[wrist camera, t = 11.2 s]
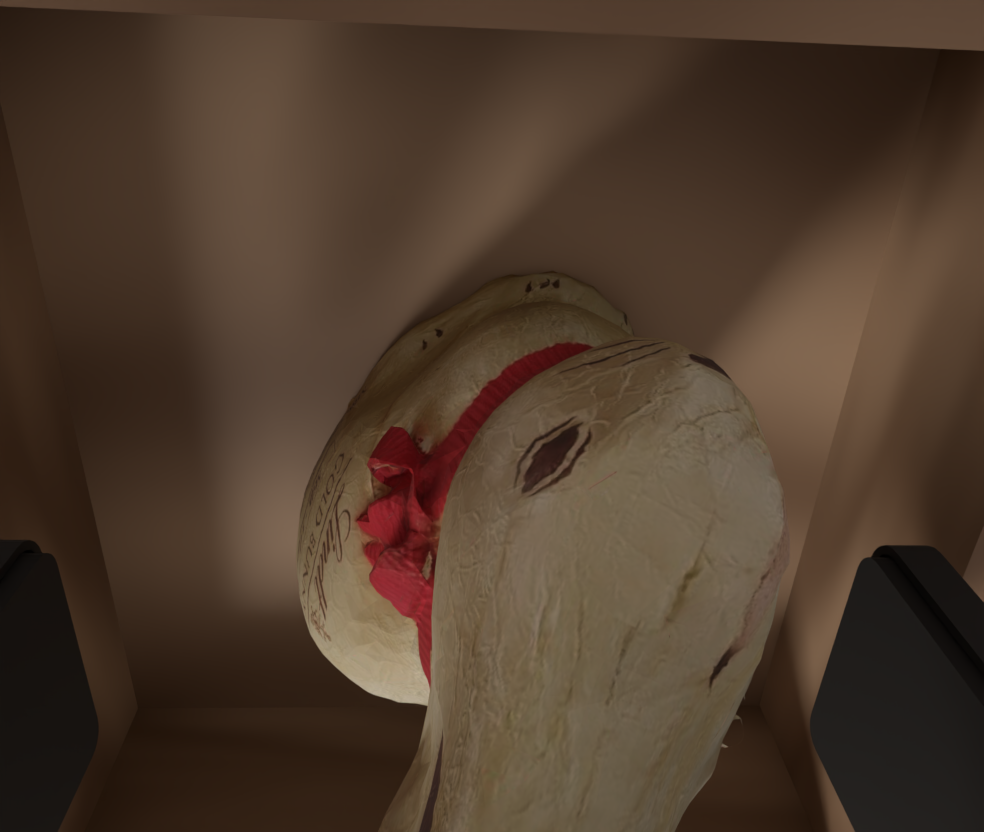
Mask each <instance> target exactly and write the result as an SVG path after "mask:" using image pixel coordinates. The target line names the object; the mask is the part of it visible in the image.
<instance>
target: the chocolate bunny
mask: <svg viewBox="0 0 984 832" xmlns="http://www.w3.org/2000/svg"><path fill="white" fill-rule="evenodd" d="M296 563H297V578H298V586H299V594H300V601H301V604H302V608H303V612H304V616H305V620H306V623H307V626H308V629H309V632H310V635H311V636H312V638H313V640H314V641H315V643H316V645H317V646H318V648H319V649H320V651H321V652H322V654H323V655H324V656H325V657H326V658H327V659H328V660H329V661H330V662H331V663H332V664H333V665H334V666H335V667H336V668H337V669H339V670H340V671H341V672H342V673H343V674H344V675H345V676H347V677H348V678H349V679H350V680H352V681H353V682H354V683H356V684H357V685H359V686H360V687H361V688H363V689H364V690H366V691H367V692H369V693H371V694H373V695H377V696H380V697H384V698H387V699H391V700H394V701H396V702H401V703H416V704H421V705H426V706H428V707H427V712H426V717H425V721H424V726H423V730H422V735H421V740H420V744H419V749H418V751H417V754H416V756H415V758H414V760H413V763H412V765H411V767H410V769H409V771H408V773H407V775H406V776H405V778H404V780H403V782H402V784H401V786H400V788H399V789H398V791H397V793H396V795H395V797H394V799H393V801H392V802H391V804H390V806H389V808H388V810H387V812H386V814H385V816H384V818H383V821H382V823H381V826H380V828H379V831H378V832H675V830H676V828H677V826H678V824H679V822H680V820H681V817H682V815H683V813H684V812H685V810H686V808H687V807H688V805H689V803H690V802H691V801H692V800H693V798H694V797H695V796H696V795H697V793H698V792H699V791H700V790H701V788H702V787H703V786H704V785H705V783H706V782H707V781H708V780H709V778H710V777H711V776H712V774H713V771H714V769H715V766H716V763H717V759H718V756H719V752H720V749H721V747H725V748H726V747H728V746H726V745H724V744H722V742H723V739H724V737H725V735H726V733H727V731H728V729H729V727H730V725H731V723H732V721H733V720H735V719H740V720H741V718H740V717H739V716H737V715H736V712H737V710H738V708H739V705H740V703H741V701H742V698H743V696H744V699H745V693H746V691H747V689H748V687H749V684H750V682H751V680H752V677H753V674H754V671H755V669H756V667H757V666H758V664H759V662H760V660H761V657H762V653H763V650H764V646H765V642H766V640H767V637H768V634H769V631H770V628H771V625H772V621H773V617H774V613H775V608H776V602H777V597H778V592H779V587H780V581H781V577H782V575H783V574H784V572H785V570H786V569H787V567H788V565H789V564H790V535H789V527H788V519H787V512H786V504H785V496H784V489H783V487H782V485H781V482H780V480H779V478H778V476H777V474H776V471H775V468H774V465H773V461H772V458H771V455H770V452H769V449H768V446H767V444H766V441H765V438H764V436H763V433H762V430H761V427H760V425H759V422H758V419H757V417H756V414H755V411H754V409H753V407H752V405H751V403H750V401H749V400H748V399H747V398H746V396H745V395H744V394H743V393H742V392H741V390H740V389H739V388H738V387H737V386H736V384H735V383H734V382H733V381H732V380H731V378H730V377H729V376H728V375H727V373H726V372H725V371H724V370H723V369H722V368H721V367H720V366H718V365H717V364H716V363H715V362H714V361H713V360H711V359H709V358H707V357H704V356H702V355H700V354H698V353H696V352H694V351H692V350H690V349H688V348H686V347H684V346H682V345H680V344H678V343H675V342H671V341H668V340H664V339H660V338H646V337H634V333H633V329H632V327H631V325H630V322H629V320H628V318H627V315H626V314H625V312H623V311H621V310H618V309H616V308H614V307H613V306H612V305H611V304H610V303H609V302H608V301H607V300H606V299H605V298H604V297H603V296H602V295H601V294H600V293H599V292H598V291H597V290H596V288H595V287H593V286H591V285H588V284H585V283H583V282H580V281H578V280H576V279H574V278H572V277H570V276H568V275H566V274H564V273H557V272H555V271H549V272H543V273H538V274H529V275H521V276H518V275H513V274H510V275H507V276H504V277H499V278H496V279H494V280H491V281H488V282H487V283H486V284H485V285H483V286H482V287H481V288H480V289H479V290H477V291H476V292H475V293H474V294H472V295H471V296H469V297H468V298H466V299H465V300H464V301H462V302H461V303H459V304H457V305H455V306H453V307H451V308H449V309H448V310H446V311H444V312H442V313H440V314H438V315H436V316H433V317H431V318H429V319H426V320H424V321H421V322H420V323H419V324H418V325H416V326H415V327H414V328H412V329H411V330H410V331H409V332H407V333H406V334H405V335H403V336H402V337H401V338H400V339H399V340H398V341H397V342H396V343H395V344H394V345H393V346H392V347H391V348H390V349H389V350H388V351H387V352H386V354H385V355H384V356H383V357H382V358H381V360H380V361H379V362H378V363H377V365H376V366H375V367H374V368H373V370H372V371H371V372H370V374H369V375H368V377H367V379H366V381H365V382H364V384H363V386H362V388H361V389H360V391H359V392H358V394H357V396H356V397H355V398H351V400H350V402H349V403H348V407H347V411H346V413H345V414H344V416H343V417H342V419H341V420H340V422H339V423H338V425H337V426H336V428H335V430H334V431H333V433H332V435H331V436H330V438H329V440H328V441H327V443H326V445H325V447H324V449H323V451H322V453H321V455H320V457H319V459H318V461H317V463H316V465H315V467H314V469H313V471H312V474H311V476H310V479H309V482H308V484H307V487H306V489H305V493H304V498H303V502H302V506H301V510H300V519H299V528H298V538H297V547H296ZM741 723H742V720H741ZM742 726H743V725H742ZM740 743H741V742H740Z"/></svg>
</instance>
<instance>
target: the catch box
mask: <svg viewBox="0 0 984 832" xmlns="http://www.w3.org/2000/svg"><path fill="white" fill-rule="evenodd" d="M549 271H555V272H557V273H564V274H566V275H568V276H570V277H572V278H574V279H576V280H578V281H580V282H583V283H585V284H588V285H591V286H593V287H595V288H596V290H597V291H598V292H599V293H600V294H601V295H602V296H603V297H604V298H605V299H606V300H607V301H608V302H609V303H610V304H611V305H612V306H613V307H614V308H616V309H618V310H621V311H623V312H625V314H626V315H627V318H628V320H629V322H630V325H631V327H632V329H633V333H634V337H646V338H660V339H664V340H668V341H671V342H675V343H678V344H680V345H682V346H684V347H686V348H688V349H690V350H692V351H694V352H696V353H698V354H700V355H702V356H704V357H707V358H709V359H711V360H713V361H714V362H715V363H716V364H717V365H718V366H720V367H721V368H722V369H723V370H724V371H725V372H726V373H727V375H728V376H729V377H730V378H731V380H732V381H733V382H734V383H735V384H736V386H737V387H738V388H739V389H740V390H741V392H742V393H743V394H744V395H745V396H746V398H747V399H748V400H749V401H750V403H751V405H752V407H753V409H754V411H755V414H756V417H757V419H758V422H759V425H760V427H761V430H762V433H763V436H764V438H765V441H766V444H767V446H768V449H769V452H770V455H771V458H772V461H773V465H774V468H775V471H776V474H777V476H778V478H779V480H780V482H781V485H782V487H783V489H784V496H785V504H786V512H787V519H788V527H789V535H790V564H789V565H788V567H787V569H786V570H785V572H784V574H783V575H782V577H781V581H780V587H779V592H778V597H777V602H776V608H775V613H774V617H773V621H772V625H771V628H770V631H769V634H768V637H767V640H766V642H765V646H764V650H763V653H762V657H761V660H760V662H759V664H758V666H757V667H756V669H755V671H754V674H753V677H752V680H751V682H750V684H749V687H748V689H747V691H746V693H745V699H744V696H743V698H742V701H741V703H740V705H739V708H738V710H737V712H736V715H737V716H739V717H740V718H741V720H742V723H741V720H740V719H735V720H733V721H732V723H731V725H730V727H729V729H728V731H727V733H726V735H725V737H724V739H723V742H722V744H724V745H726V746H728V747H726V748H725V747H721V749H720V752H719V756H718V759H717V763H716V766H715V769H714V771H713V774H712V776H711V777H710V778H709V780H708V781H707V782H706V783H705V785H704V786H703V787H702V788H701V790H700V791H699V792H698V793H697V795H696V796H695V797H694V798H693V800H692V801H691V802H690V803H689V805H688V807H687V808H686V810H685V812H684V813H683V815H682V817H681V820H680V822H679V824H678V826H677V828H676V830H675V832H855V831H854V829H853V827H852V825H851V823H850V821H849V818H848V816H847V814H846V812H845V810H844V808H843V806H842V804H841V802H840V800H839V798H838V796H837V793H836V791H835V789H834V787H833V785H832V783H831V781H830V779H829V777H828V775H827V773H826V771H825V769H824V766H823V764H822V762H821V760H820V758H819V756H818V754H817V752H816V750H815V747H814V745H813V742H812V738H811V733H810V717H811V713H812V709H813V706H814V703H815V700H816V697H817V694H818V691H819V688H820V684H821V681H822V678H823V675H824V672H825V669H826V666H827V662H828V659H829V656H830V653H831V650H832V647H833V644H834V640H835V637H836V634H837V631H838V628H839V625H840V622H841V619H842V615H843V612H844V609H845V606H846V603H847V600H848V597H849V593H850V590H851V587H852V584H853V581H854V578H855V575H856V571H857V568H858V566H859V564H860V562H861V561H862V560H863V559H864V558H867V557H871V556H872V554H873V552H874V551H875V550H876V549H877V548H878V547H879V546H883V545H928V546H931V547H934V548H936V549H937V550H938V551H939V552H940V553H941V554H942V555H943V556H944V557H945V558H946V559H947V561H948V562H949V563H950V564H951V565H952V566H953V567H954V569H955V570H956V571H957V572H958V573H959V574H960V576H961V577H962V578H963V579H964V580H965V581H966V582H967V584H968V585H969V586H970V587H971V588H972V589H973V590H974V592H975V593H976V594H977V595H978V596H979V597H980V599H981V600H982V601H983V602H984V0H0V540H31V541H35V542H36V543H37V544H38V546H39V547H40V549H41V551H42V553H49V554H52V555H53V556H54V557H55V559H56V562H57V564H58V568H59V572H60V576H61V580H62V584H63V587H64V591H65V595H66V599H67V603H68V607H69V610H70V614H71V618H72V622H73V626H74V630H75V633H76V637H77V641H78V645H79V649H80V652H81V656H82V660H83V664H84V668H85V672H86V675H87V679H88V683H89V687H90V691H91V695H92V698H93V702H94V706H95V710H96V714H97V718H98V724H99V733H98V741H97V745H96V749H95V752H94V754H93V757H92V759H91V761H90V763H89V765H88V768H87V770H86V772H85V774H84V776H83V778H82V781H81V783H80V785H79V787H78V789H77V791H76V794H75V796H74V798H73V800H72V802H71V804H70V806H69V809H68V811H67V813H66V815H65V817H64V819H63V822H62V824H61V826H60V828H59V830H58V832H378V831H379V828H380V826H381V823H382V821H383V818H384V816H385V814H386V812H387V810H388V808H389V806H390V804H391V802H392V801H393V799H394V797H395V795H396V793H397V791H398V789H399V788H400V786H401V784H402V782H403V780H404V778H405V776H406V775H407V773H408V771H409V769H410V767H411V765H412V763H413V760H414V758H415V756H416V754H417V751H418V749H419V744H420V740H421V735H422V730H423V726H424V721H425V717H426V712H427V707H428V706H426V705H421V704H416V703H401V702H396V701H394V700H391V699H387V698H384V697H380V696H377V695H373V694H371V693H369V692H367V691H366V690H364V689H363V688H361V687H360V686H359V685H357V684H356V683H354V682H353V681H352V680H350V679H349V678H348V677H347V676H345V675H344V674H343V673H342V672H341V671H340V670H339V669H337V668H336V667H335V666H334V665H333V664H332V663H331V662H330V661H329V660H328V659H327V658H326V657H325V656H324V655H323V654H322V652H321V651H320V649H319V648H318V646H317V645H316V643H315V641H314V640H313V638H312V636H311V635H310V632H309V629H308V626H307V623H306V620H305V616H304V612H303V608H302V604H301V601H300V594H299V586H298V578H297V563H296V547H297V538H298V528H299V519H300V510H301V506H302V502H303V498H304V493H305V489H306V487H307V484H308V482H309V479H310V476H311V474H312V471H313V469H314V467H315V465H316V463H317V461H318V459H319V457H320V455H321V453H322V451H323V449H324V447H325V445H326V443H327V441H328V440H329V438H330V436H331V435H332V433H333V431H334V430H335V428H336V426H337V425H338V423H339V422H340V420H341V419H342V417H343V416H344V414H345V413H346V411H347V407H348V403H349V402H350V400H351V398H355V397H356V396H357V394H358V392H359V391H360V389H361V388H362V386H363V384H364V382H365V381H366V379H367V377H368V375H369V374H370V372H371V371H372V370H373V368H374V367H375V366H376V365H377V363H378V362H379V361H380V360H381V358H382V357H383V356H384V355H385V354H386V352H387V351H388V350H389V349H390V348H391V347H392V346H393V345H394V344H395V343H396V342H397V341H398V340H399V339H400V338H401V337H402V336H403V335H405V334H406V333H407V332H409V331H410V330H411V329H412V328H414V327H415V326H416V325H418V324H419V323H420V322H421V321H424V320H426V319H429V318H431V317H433V316H436V315H438V314H440V313H442V312H444V311H446V310H448V309H449V308H451V307H453V306H455V305H457V304H459V303H461V302H462V301H464V300H465V299H466V298H468V297H469V296H471V295H472V294H474V293H475V292H476V291H477V290H479V289H480V288H481V287H482V286H483V285H485V284H486V283H487V282H488V281H491V280H494V279H496V278H499V277H504V276H507V275H510V274H513V275H518V276H521V275H529V274H538V273H543V272H549ZM742 725H743V726H742ZM740 742H741V743H740Z"/></svg>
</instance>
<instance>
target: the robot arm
mask: <svg viewBox="0 0 984 832" xmlns="http://www.w3.org/2000/svg"><path fill="white" fill-rule="evenodd" d="M98 733H99V724H98V718H97V714H96V710H95V706H94V702H93V698H92V695H91V691H90V687H89V683H88V679H87V675H86V672H85V668H84V664H83V660H82V656H81V652H80V649H79V645H78V641H77V637H76V633H75V630H74V626H73V622H72V618H71V614H70V610H69V607H68V603H67V599H66V595H65V591H64V587H63V584H62V580H61V576H60V572H59V568H58V564H57V562H56V559H55V557H54V556H53V555H52V554H49V553H42V551H41V549H40V547H39V546H38V544H37V543H36V542H35V541H31V540H0V832H58V830H59V828H60V826H61V824H62V822H63V819H64V817H65V815H66V813H67V811H68V809H69V806H70V804H71V802H72V800H73V798H74V796H75V794H76V791H77V789H78V787H79V785H80V783H81V781H82V778H83V776H84V774H85V772H86V770H87V768H88V765H89V763H90V761H91V759H92V757H93V754H94V752H95V749H96V745H97V741H98ZM810 733H811V738H812V742H813V745H814V747H815V750H816V752H817V754H818V756H819V758H820V760H821V762H822V764H823V766H824V769H825V771H826V773H827V775H828V777H829V779H830V781H831V783H832V785H833V787H834V789H835V791H836V793H837V796H838V798H839V800H840V802H841V804H842V806H843V808H844V810H845V812H846V814H847V816H848V818H849V821H850V823H851V825H852V827H853V829H854V831H855V832H984V602H983V601H982V600H981V599H980V597H979V596H978V595H977V594H976V593H975V592H974V590H973V589H972V588H971V587H970V586H969V585H968V584H967V582H966V581H965V580H964V579H963V578H962V577H961V576H960V574H959V573H958V572H957V571H956V570H955V569H954V567H953V566H952V565H951V564H950V563H949V562H948V561H947V559H946V558H945V557H944V556H943V555H942V554H941V553H940V552H939V551H938V550H937V549H936V548H934V547H931V546H928V545H883V546H879V547H878V548H877V549H876V550H875V551H874V552H873V554H872V556H871V557H867V558H864V559H863V560H862V561H861V562H860V564H859V566H858V568H857V571H856V575H855V578H854V581H853V584H852V587H851V590H850V593H849V597H848V600H847V603H846V606H845V609H844V612H843V615H842V619H841V622H840V625H839V628H838V631H837V634H836V637H835V640H834V644H833V647H832V650H831V653H830V656H829V659H828V662H827V666H826V669H825V672H824V675H823V678H822V681H821V684H820V688H819V691H818V694H817V697H816V700H815V703H814V706H813V709H812V713H811V717H810Z"/></svg>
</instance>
